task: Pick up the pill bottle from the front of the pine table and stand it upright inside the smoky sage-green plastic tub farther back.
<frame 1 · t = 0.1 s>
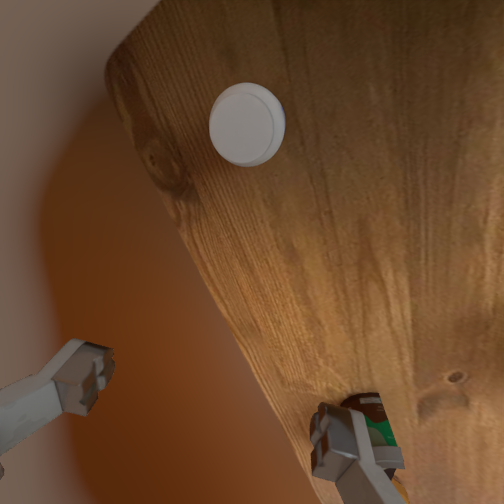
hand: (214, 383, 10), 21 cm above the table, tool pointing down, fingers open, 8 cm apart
food container: (351, 407, 42), on the table
pill bottle: (257, 123, 25), on the table
carrot: (370, 460, 49), on the table
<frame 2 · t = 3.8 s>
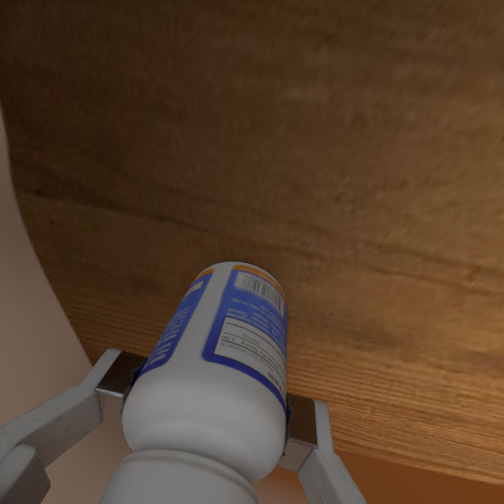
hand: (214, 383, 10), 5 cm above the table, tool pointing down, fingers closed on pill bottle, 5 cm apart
pill bottle: (239, 297, 15), on the table, touching gripper
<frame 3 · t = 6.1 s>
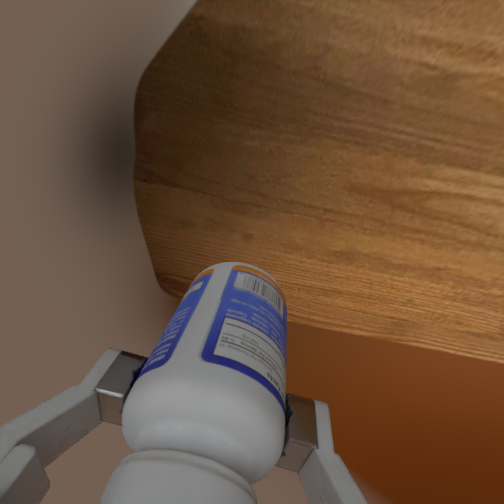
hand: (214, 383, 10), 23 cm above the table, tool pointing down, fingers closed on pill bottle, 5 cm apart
pill bottle: (239, 297, 15), point 17 cm above the table, touching gripper
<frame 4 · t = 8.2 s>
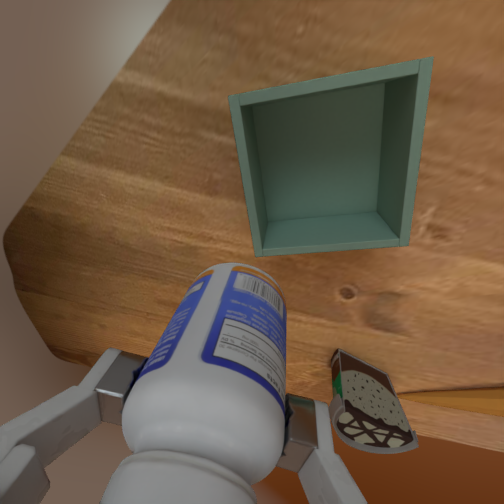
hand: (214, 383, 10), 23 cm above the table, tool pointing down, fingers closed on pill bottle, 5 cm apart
food container: (349, 370, 43), on the table
tub: (317, 160, 28), on the table
pill bottle: (239, 298, 15), point 18 cm above the table, touching gripper
carrot: (454, 389, 42), on the table
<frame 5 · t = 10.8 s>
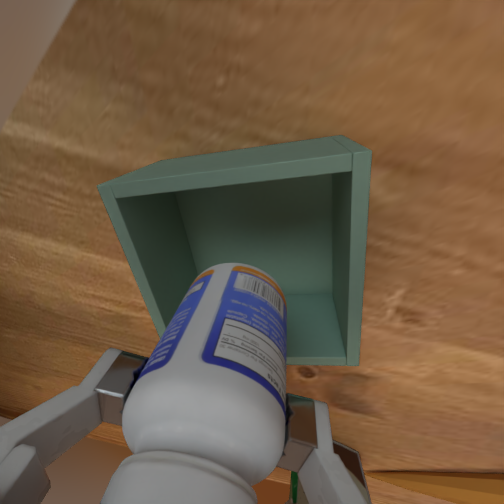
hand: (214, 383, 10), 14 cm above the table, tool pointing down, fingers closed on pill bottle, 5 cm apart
food container: (316, 445, 37), on the table
tub: (257, 232, 22), on the table
pill bottle: (239, 298, 15), point 9 cm above the table, touching gripper
carrot: (435, 471, 36), on the table
when the fingers open (6 cm above the table, at t = 13.1 s): pill bottle stays where it is, resting on tub.
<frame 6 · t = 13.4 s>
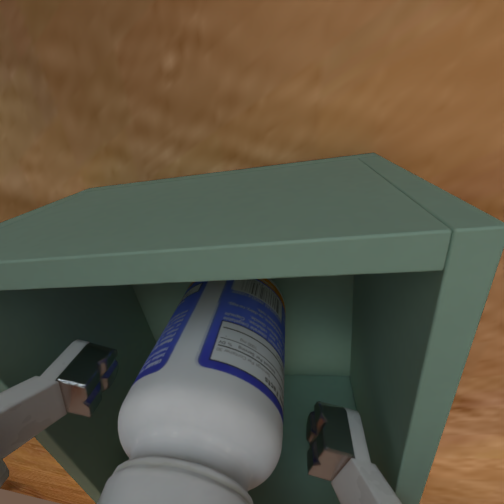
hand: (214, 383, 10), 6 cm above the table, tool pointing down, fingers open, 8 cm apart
tub: (240, 292, 15), on the table
pill bottle: (237, 299, 15), point 1 cm above the table, touching tub
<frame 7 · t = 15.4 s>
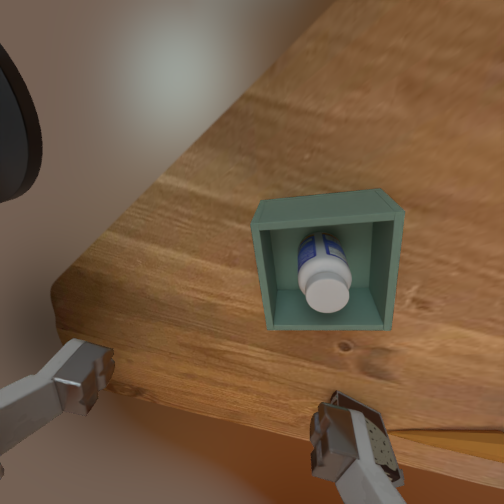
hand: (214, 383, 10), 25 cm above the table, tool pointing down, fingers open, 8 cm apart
food container: (347, 408, 48), on the table
tub: (319, 246, 34), on the table
pill bottle: (319, 249, 33), point 1 cm above the table, touching tub
carrot: (441, 429, 46), on the table
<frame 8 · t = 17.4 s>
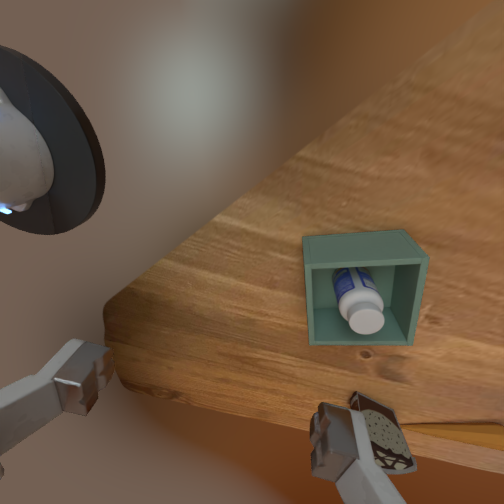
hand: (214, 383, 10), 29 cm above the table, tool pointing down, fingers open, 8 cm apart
food container: (364, 406, 55), on the table
tub: (349, 273, 40), on the table
pill bottle: (350, 276, 40), point 1 cm above the table, touching tub
carrot: (445, 422, 54), on the table
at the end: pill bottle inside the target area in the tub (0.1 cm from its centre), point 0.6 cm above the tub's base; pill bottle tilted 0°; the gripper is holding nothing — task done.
